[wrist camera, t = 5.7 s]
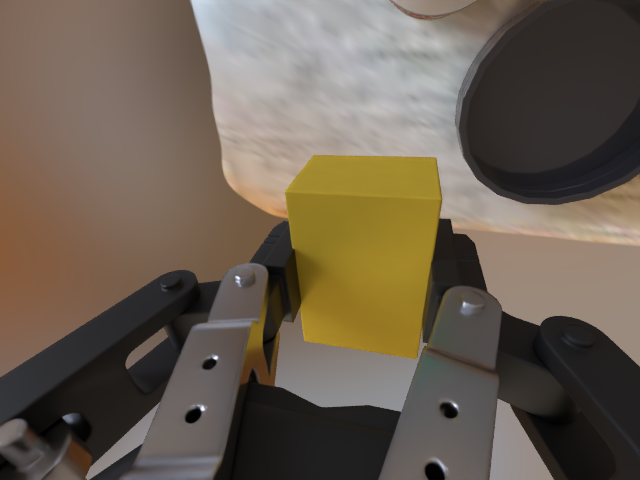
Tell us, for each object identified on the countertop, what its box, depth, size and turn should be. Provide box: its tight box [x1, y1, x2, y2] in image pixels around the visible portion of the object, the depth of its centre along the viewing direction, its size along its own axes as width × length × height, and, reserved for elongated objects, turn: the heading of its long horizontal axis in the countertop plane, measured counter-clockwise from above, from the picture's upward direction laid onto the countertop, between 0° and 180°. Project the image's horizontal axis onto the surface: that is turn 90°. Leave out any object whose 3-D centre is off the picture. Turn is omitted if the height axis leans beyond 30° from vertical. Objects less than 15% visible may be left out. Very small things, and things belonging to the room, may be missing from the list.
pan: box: [455, 0, 640, 205], centre depth 25 cm, size 15×15×4 cm
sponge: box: [285, 155, 442, 359], centre depth 11 cm, size 6×4×3 cm, turn 4°
